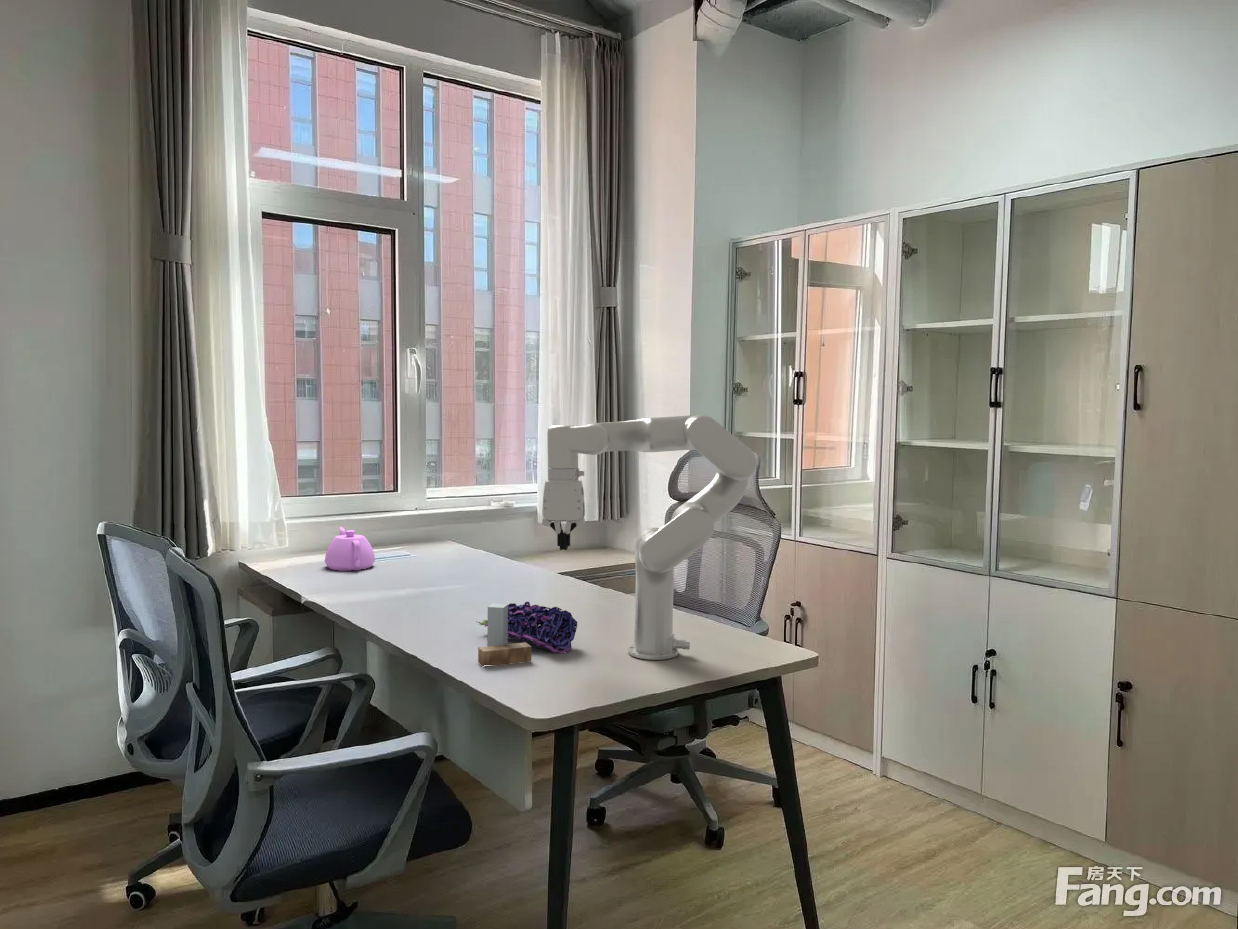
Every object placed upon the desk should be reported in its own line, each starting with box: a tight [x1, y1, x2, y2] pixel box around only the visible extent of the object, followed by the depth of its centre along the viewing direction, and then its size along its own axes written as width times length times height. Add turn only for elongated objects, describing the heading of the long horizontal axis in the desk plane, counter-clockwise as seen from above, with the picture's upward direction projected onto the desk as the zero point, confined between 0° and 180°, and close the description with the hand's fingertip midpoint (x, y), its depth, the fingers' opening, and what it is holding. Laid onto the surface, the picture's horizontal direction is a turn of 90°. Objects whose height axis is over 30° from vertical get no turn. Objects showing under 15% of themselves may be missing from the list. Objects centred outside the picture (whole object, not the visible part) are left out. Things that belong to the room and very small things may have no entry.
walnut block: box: [477, 642, 532, 666], centre depth 220 cm, size 4×4×12 cm
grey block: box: [486, 603, 509, 646], centre depth 228 cm, size 4×4×12 cm
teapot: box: [324, 526, 376, 572], centre depth 338 cm, size 25×18×14 cm
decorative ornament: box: [475, 601, 578, 654], centre depth 239 cm, size 13×11×30 cm
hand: (563, 549), depth 227 cm, fingers closed
